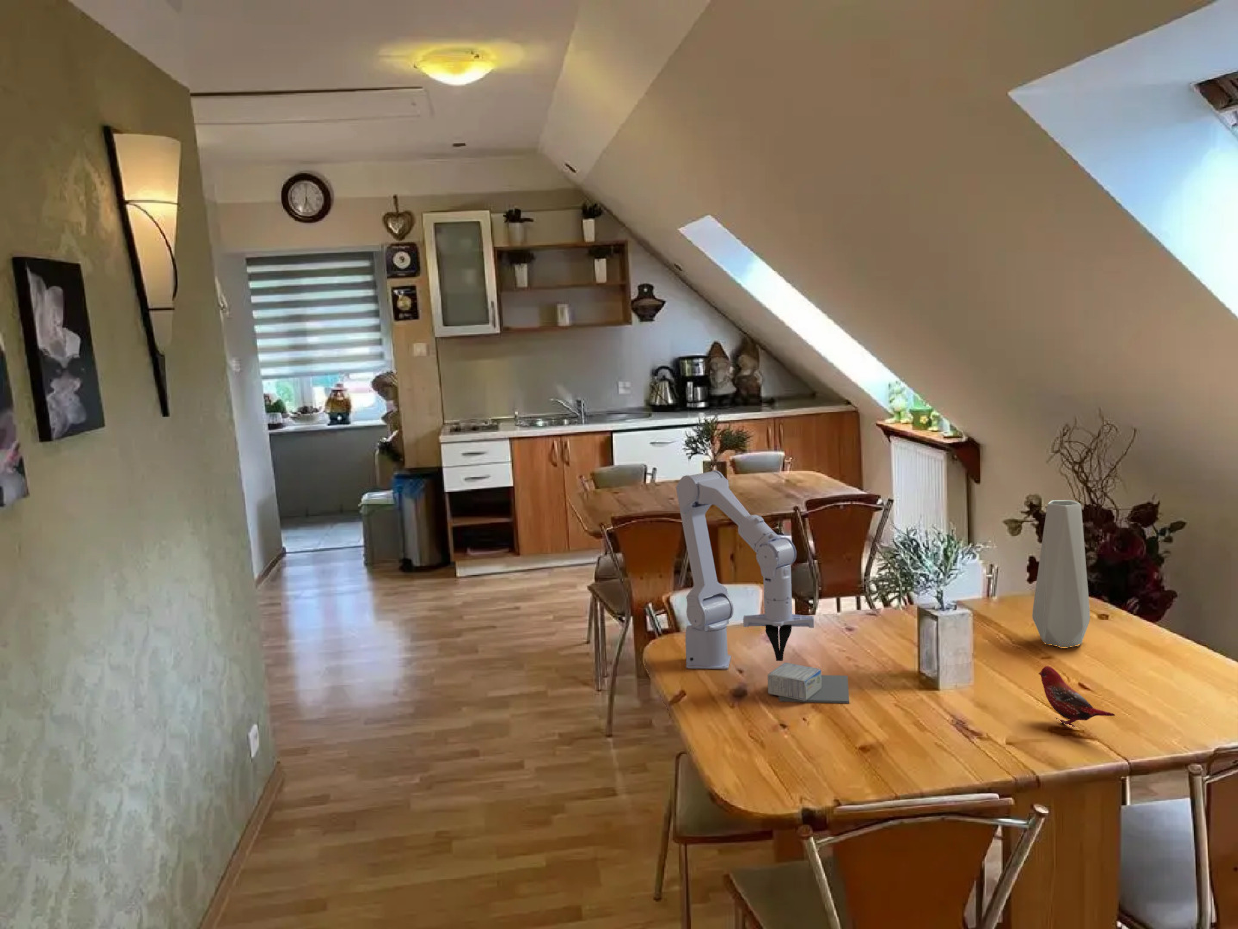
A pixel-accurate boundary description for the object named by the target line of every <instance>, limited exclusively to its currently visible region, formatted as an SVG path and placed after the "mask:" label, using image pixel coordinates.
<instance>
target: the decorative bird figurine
mask: <svg viewBox="0 0 1238 929" xmlns="http://www.w3.org/2000/svg"><path fill="white" fill-rule="evenodd" d="M1038 675H1040V677H1041V678H1040V679H1041V683H1042V686H1043V687H1042V688H1043V691H1044V694H1045V697H1046V699H1047V701H1048V703H1049V704H1050V706H1051V707H1052V709H1053V710H1054V711H1055V712H1056V713H1057V714H1058V715H1060V716H1062V717H1063V718H1064V719H1067V720H1064V719H1059V718H1058V717H1055V718H1056V719H1055V720H1057V719H1059V720H1060V721H1061V722H1062V723H1065V724H1069V725H1072V727H1073V728H1074V727H1076V725H1074V724H1073V723H1076V722H1077V721H1088V720H1089V719H1090V720H1091V718H1093V717H1097V716H1101V717H1103V716H1104V717H1107V716H1108V717H1114V716H1116V714H1114V713H1112V712H1109V711H1106V710H1101V709H1097V708H1094V707H1093V705H1091V703H1089V701H1087V700H1086V698H1085V697H1084V696H1082V694H1080V693H1078V692H1077V691H1076V690H1074V689H1073V688H1072V687H1070V686H1069V684H1067V682H1065V681H1064V679H1063V678H1062V676H1061V675H1060V674H1059V672H1058V671H1057V670H1055V669H1054V668H1053V667H1052V666H1049V665H1045V666H1043V667H1042V668H1041V671H1040V672H1038ZM1060 721H1059V722H1060ZM1061 722H1060V723H1061ZM1062 723H1061V724H1062Z"/></svg>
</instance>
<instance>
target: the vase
mask: <svg viewBox="0 0 1238 929" xmlns="http://www.w3.org/2000/svg"><path fill="white" fill-rule="evenodd" d="M1082 511H1083V510H1082V505H1081V503H1079V502H1077V501H1075V500H1072V499H1071V500H1070V499H1063V500H1062V499H1058V500H1053V499H1052V500H1050V501H1049V502H1048V503H1047V506H1046V513H1045V519H1044V520H1045V521H1044V526H1043V532H1042V539H1041V540H1042V541H1041V547H1040V554H1039V555H1040V556H1039V562H1038V570H1037V576H1036V583H1035V590H1034V591H1035V592H1034V597H1033V598H1034V599H1033V607H1032V613H1031V614H1032V615H1031V616H1032V620H1033V622H1034V625H1035V627H1036V629H1037V631H1038V634H1039V636H1040V639H1041V642H1044V643H1046V644H1052V645H1057V646H1060V647H1070V646H1075V645H1078V644H1081V645H1082V642H1083V640H1084V638H1085V635H1086V632H1087V629H1088V628H1089V624H1090V620H1091V619H1090V618H1091V613H1090V612H1091V611H1090V601H1089V600H1090V598H1089V587H1088V586H1089V584H1088V573H1087V564H1086V562H1087V560H1086V559H1087V558H1086V549H1085V536H1084V535H1085V534H1084V523H1083V512H1082ZM1044 643H1043V644H1044ZM1046 644H1045V645H1046Z"/></svg>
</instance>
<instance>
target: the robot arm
mask: <svg viewBox="0 0 1238 929" xmlns="http://www.w3.org/2000/svg"><path fill="white" fill-rule="evenodd" d="M675 490H676V494H677V495H676V496H677V500H678V506H679V514H680V517H681V524H682V530H683V533H684V534H683V535H684V539H685V546H686V550H687V554H688V561H689V566H690V571H691V577H692V582H693V587H692V588H691V589H690V591H689V592H688V594H686V597H685V599H686V617H687V618H686V619H687V620H688V622H689V624H690V625H687V626H686V627H685V635H684V636H685V638H684V642H685V657H686V658H685V659H686V660H685V662H686V665H685V668H686V669H702V670H703V669H704V670H705V669H706V670H708V669H709V670H715V669H716V670H728V669H729V666H730V662H731V659H732V655H730V654H729V653H728V634H727V633H728V632H727V631H728V630H727V629H728V628H727V625H729V624H730V619H732V618H733V616H734V603H733V601H732V600H731V598H730V595H729V593H728V588H727V587H726V586H725V585H723V584H721V583H720V582H719V581H718V577H717V573H716V567H715V566H716V565H715V562H714V561H715V560H714V556H713V550H712V545H711V540H710V534H709V530H708V524H707V519H706V514H707V512H708V510H709V508H710V507H711V506H713V505H714V506H716V507H717V508H718V509H719V510H721V511H722V512H723V513H724V514H725V515H726V516H727V517H728V518H729V519H731V521H732V522H733V523H734V524H736V525H737V526H738V528H737V529H738V530H737V531H738V532H737V534H738V535H739V536H740V537H741V538H742V539H743V541H744V542H746V544H747V545H749V547H750V548H751V549H752V550H753V551H754V552H755V553H756V554H755V559H756V561H757V564H758V565H759V567H760V575H761V576H762V577H763V579H762V580H763V582H762V583H763V606H764V607H763V608H764V609H763V610H764V613H761V614H760V613H759V614H751V615H743V618H742V620H743V628H749V627H765V630H764V631H765V634H766V636H767V638H768V639H769V641H770V644H771V646H772V649H773V651H774V657H775V661H776V662H777V661H778V662H783V661H784V653H785V649H786V645H787V643H788V640H789V638H790V635H791V634H792V627H801V628H802V627H803V628H804V627H805V628H810V629H814V628H815V615H814V616H813V615H801V614H794V613H793V604H792V603H793V602H792V601H793V600H792V598H793V597H792V567H791V566H792V564H794V563H795V561H796V559H797V549H796V546H795V545H794V543H793V541H792V540H791V539H790V538H788V537H785V536H784V537H783V536H781V535H779V534H777V533H776V532H775V531H774V530H773V529H772V528H771V527H770V526H769V525H768V524H767V523H766V522H765V520H764V518H763V517H762V516H761V515H760V516H759V515H757V514H750V513H749V511H748V510H747V509H746V508H745V507H744V505H743V504H742V503H741V502H740V501H739V499H738V498H737V497H736V496H735V494H734V493H733V492H732V490H731V489H730V485H729V479H727V478H726V477H725V476H724V475H723V473H722V472H720V471H719V470H711V471H708V472H707V471H706V472H701V473H697V474H691V475H689V474H686V475H683V476H682V477H681V478H680V479H679V481H678V483H677V484H676V486H675Z"/></svg>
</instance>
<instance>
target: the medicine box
mask: <svg viewBox="0 0 1238 929" xmlns="http://www.w3.org/2000/svg"><path fill="white" fill-rule="evenodd" d="M821 675H822V669H821V668H816V667H811V666H806V665H801V664H796V663H792V662H791V663H789V662H783V663H782V664H780V665H779V666H778V667H776V668H774V669H773V670H772V671H770V672H768V673H767V693H768V694H769V695H774V696H778V697H779V696H783V697H788V698H793V699H798V700H803V701H806V700H807V699H808V698H810V697H811V696H812V695H813V694H815V693H816V692H817V691H819V690H820V689H821V684H822V678H821Z"/></svg>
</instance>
